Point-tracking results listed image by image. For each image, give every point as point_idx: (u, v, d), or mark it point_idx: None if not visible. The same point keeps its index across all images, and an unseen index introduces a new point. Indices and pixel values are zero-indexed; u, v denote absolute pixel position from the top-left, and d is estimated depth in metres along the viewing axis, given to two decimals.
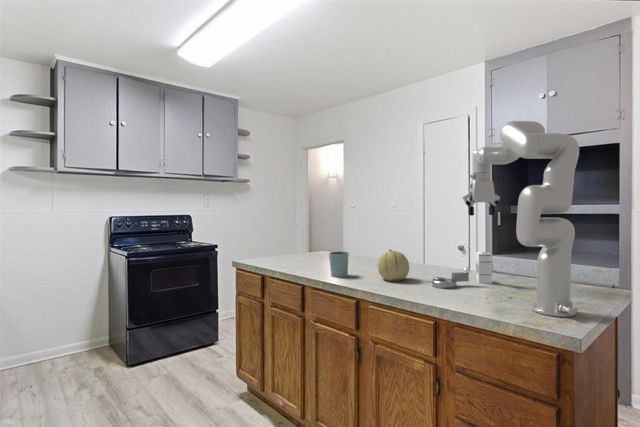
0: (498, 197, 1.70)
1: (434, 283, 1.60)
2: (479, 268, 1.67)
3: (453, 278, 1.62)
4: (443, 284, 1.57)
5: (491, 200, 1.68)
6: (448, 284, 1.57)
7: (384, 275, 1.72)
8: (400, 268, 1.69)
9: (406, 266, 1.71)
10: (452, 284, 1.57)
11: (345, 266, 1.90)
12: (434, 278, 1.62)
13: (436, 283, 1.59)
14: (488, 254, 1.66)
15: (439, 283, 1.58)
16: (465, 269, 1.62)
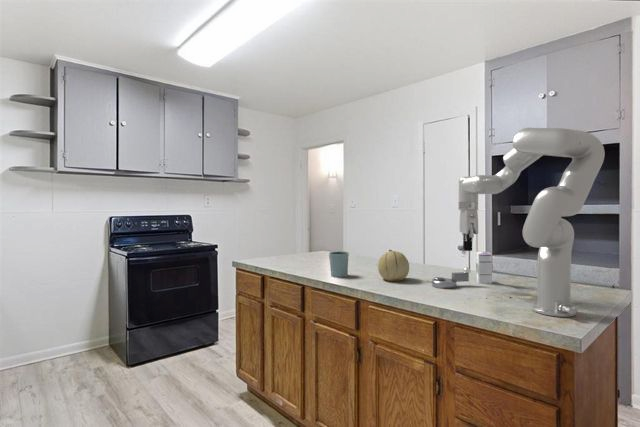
0: None
1: (434, 283, 1.60)
2: (479, 268, 1.67)
3: (453, 278, 1.62)
4: (443, 284, 1.57)
5: None
6: (448, 284, 1.57)
7: (384, 275, 1.72)
8: (400, 268, 1.69)
9: (406, 266, 1.71)
10: (452, 284, 1.57)
11: (345, 266, 1.90)
12: (434, 278, 1.62)
13: (436, 283, 1.59)
14: (488, 254, 1.66)
15: (439, 283, 1.58)
16: (465, 269, 1.62)
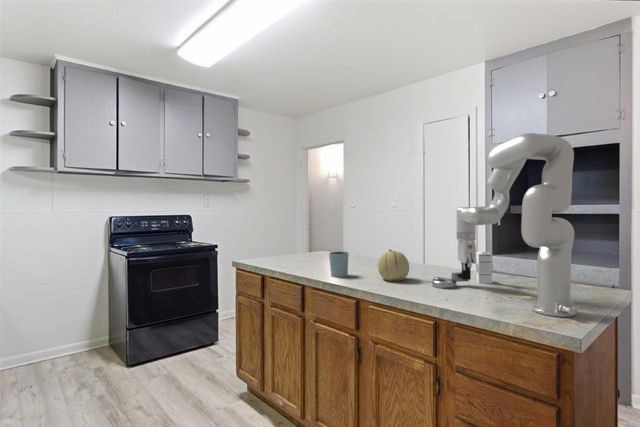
0: None
1: (434, 283, 1.60)
2: (479, 268, 1.67)
3: (453, 278, 1.62)
4: (443, 284, 1.57)
5: None
6: (448, 284, 1.57)
7: (384, 275, 1.72)
8: (400, 268, 1.69)
9: (406, 266, 1.71)
10: (452, 284, 1.57)
11: (345, 266, 1.90)
12: (434, 278, 1.62)
13: (436, 283, 1.59)
14: (488, 254, 1.66)
15: (439, 283, 1.58)
16: None
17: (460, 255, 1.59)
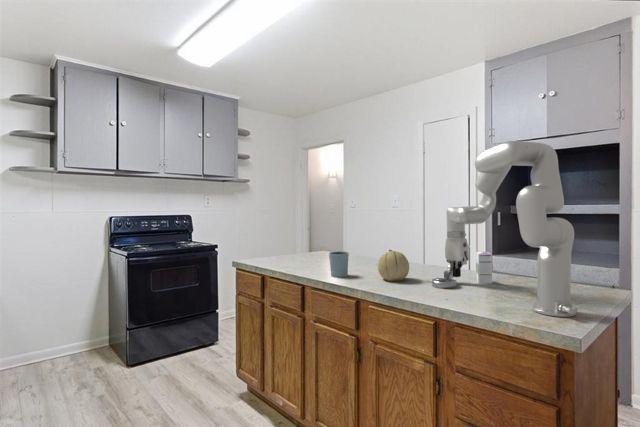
0: None
1: (443, 284, 1.57)
2: (479, 268, 1.67)
3: (447, 277, 1.65)
4: (453, 284, 1.57)
5: None
6: (455, 283, 1.59)
7: (384, 275, 1.72)
8: (400, 268, 1.69)
9: (406, 266, 1.71)
10: None
11: (345, 266, 1.90)
12: (438, 280, 1.59)
13: (446, 284, 1.57)
14: (488, 254, 1.66)
15: (450, 284, 1.57)
16: None
17: (452, 254, 1.65)
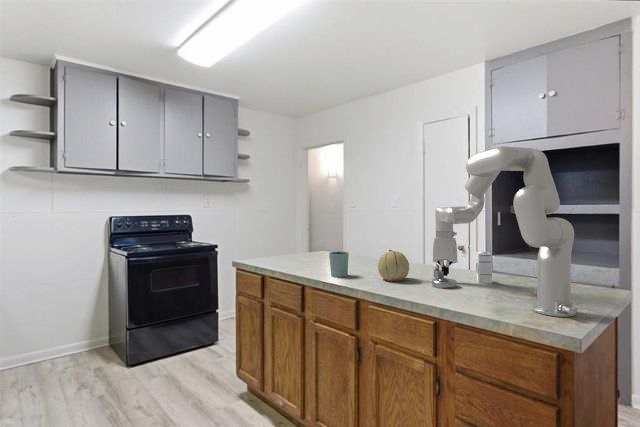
0: None
1: (450, 284, 1.57)
2: (479, 268, 1.67)
3: (441, 276, 1.66)
4: None
5: None
6: None
7: (384, 275, 1.72)
8: (400, 268, 1.69)
9: (406, 266, 1.71)
10: None
11: (345, 266, 1.90)
12: (444, 280, 1.58)
13: (453, 284, 1.57)
14: (488, 254, 1.66)
15: (455, 283, 1.58)
16: (438, 266, 1.71)
17: (444, 253, 1.67)
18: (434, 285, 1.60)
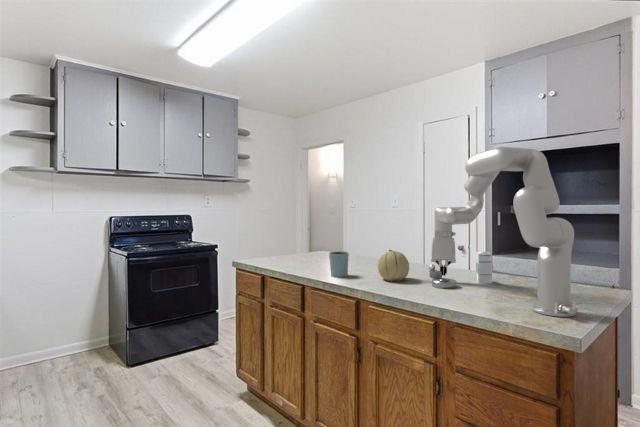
0: None
1: (452, 284, 1.57)
2: (479, 268, 1.67)
3: (440, 276, 1.66)
4: None
5: None
6: None
7: (384, 275, 1.72)
8: (400, 268, 1.69)
9: (406, 266, 1.71)
10: None
11: (345, 266, 1.90)
12: (446, 280, 1.58)
13: (454, 283, 1.58)
14: (488, 254, 1.66)
15: None
16: (434, 266, 1.71)
17: (443, 253, 1.68)
18: (436, 285, 1.59)
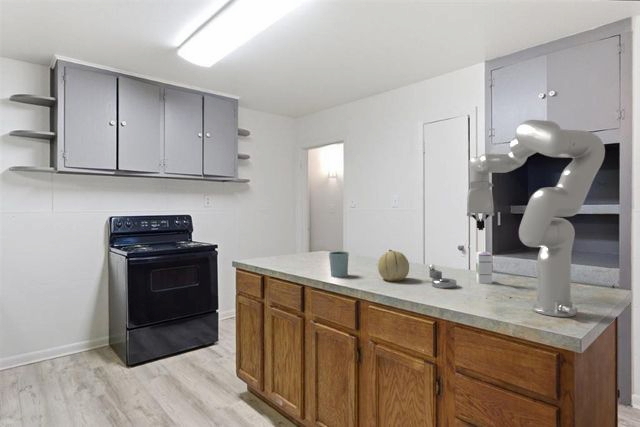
0: None
1: (452, 284, 1.57)
2: (479, 268, 1.67)
3: (440, 276, 1.66)
4: None
5: None
6: None
7: (384, 275, 1.72)
8: (400, 268, 1.69)
9: (406, 266, 1.71)
10: None
11: (345, 266, 1.90)
12: (446, 280, 1.58)
13: (454, 283, 1.58)
14: (488, 254, 1.66)
15: None
16: (434, 266, 1.71)
17: (480, 205, 1.56)
18: (436, 285, 1.59)
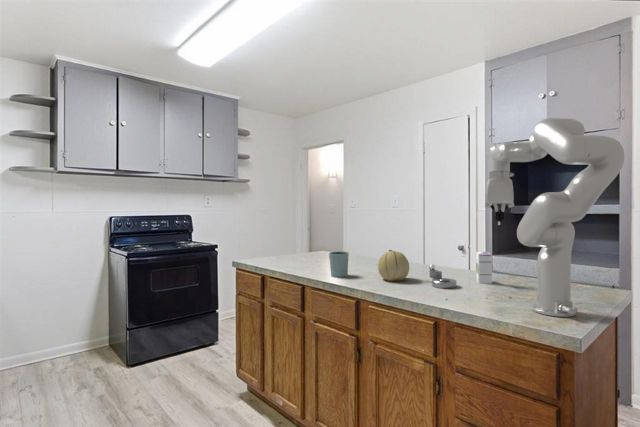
0: None
1: (452, 284, 1.57)
2: (479, 268, 1.67)
3: (440, 276, 1.66)
4: None
5: None
6: None
7: (384, 275, 1.72)
8: (400, 268, 1.69)
9: (406, 266, 1.71)
10: None
11: (345, 266, 1.90)
12: (446, 280, 1.58)
13: (454, 283, 1.58)
14: (488, 254, 1.66)
15: None
16: (434, 266, 1.71)
17: (500, 196, 1.51)
18: (436, 285, 1.59)
